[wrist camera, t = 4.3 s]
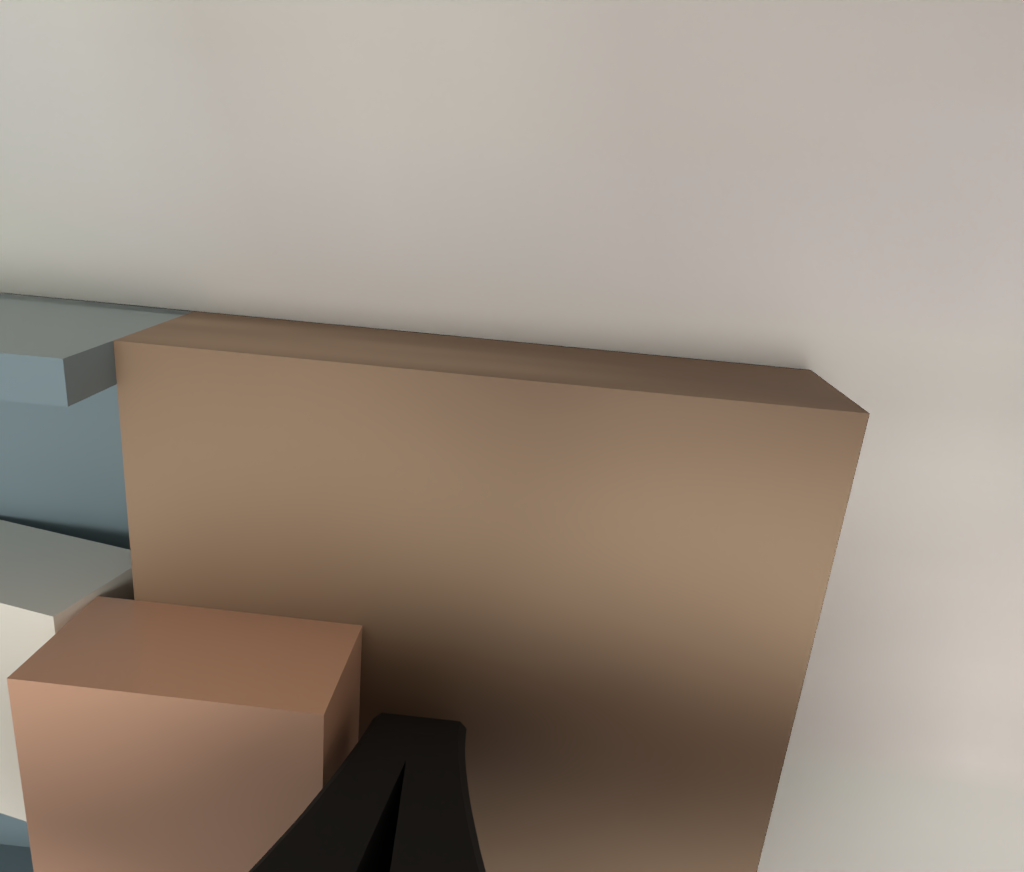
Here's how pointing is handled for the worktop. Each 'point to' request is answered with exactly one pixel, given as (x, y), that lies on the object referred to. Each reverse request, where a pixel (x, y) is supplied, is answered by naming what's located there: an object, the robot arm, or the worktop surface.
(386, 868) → the robot arm
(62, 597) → the cream tile
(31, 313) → the tray
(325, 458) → the tan rectangular slab
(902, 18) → the worktop surface
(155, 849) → the terracotta tile
